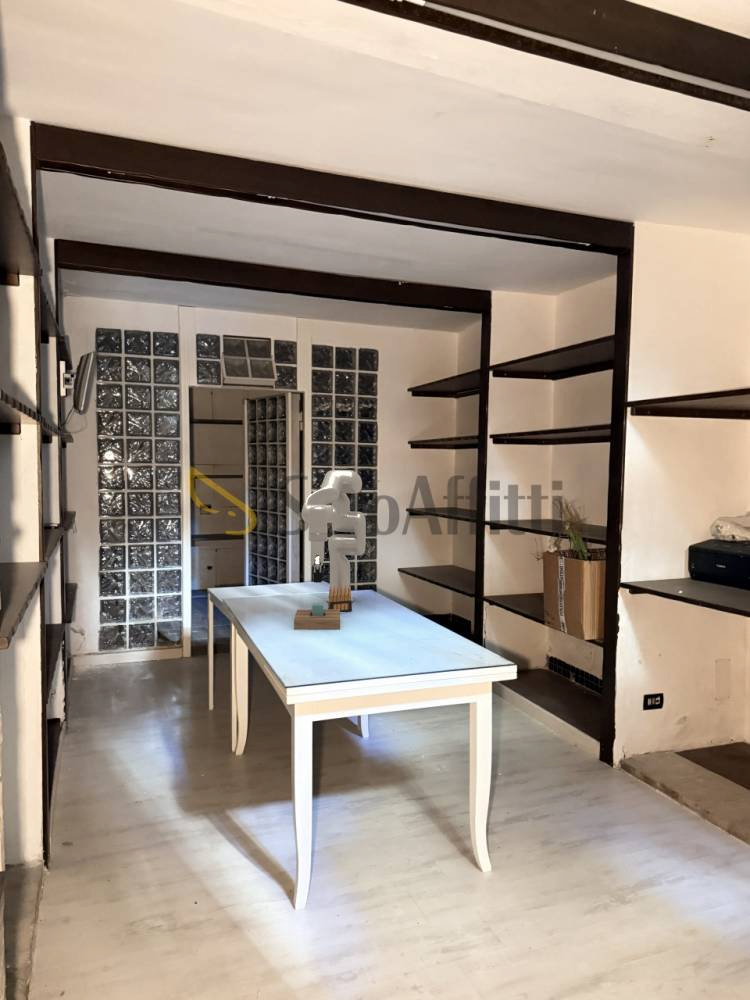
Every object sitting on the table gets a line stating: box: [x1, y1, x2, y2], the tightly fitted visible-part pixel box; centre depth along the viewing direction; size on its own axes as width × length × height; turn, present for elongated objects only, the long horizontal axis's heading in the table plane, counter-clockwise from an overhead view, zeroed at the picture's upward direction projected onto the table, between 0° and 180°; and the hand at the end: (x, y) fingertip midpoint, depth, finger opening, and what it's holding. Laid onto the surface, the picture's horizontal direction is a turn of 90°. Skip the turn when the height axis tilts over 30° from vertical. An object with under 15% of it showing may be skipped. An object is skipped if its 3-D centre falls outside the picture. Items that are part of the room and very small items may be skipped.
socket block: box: [293, 608, 341, 630], centre depth 273 cm, size 18×18×4 cm
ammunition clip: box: [327, 584, 353, 613], centre depth 295 cm, size 11×2×12 cm, turn 114°
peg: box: [311, 602, 324, 616], centre depth 274 cm, size 4×4×8 cm
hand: (317, 580), depth 273 cm, fingers open, 7 cm apart
